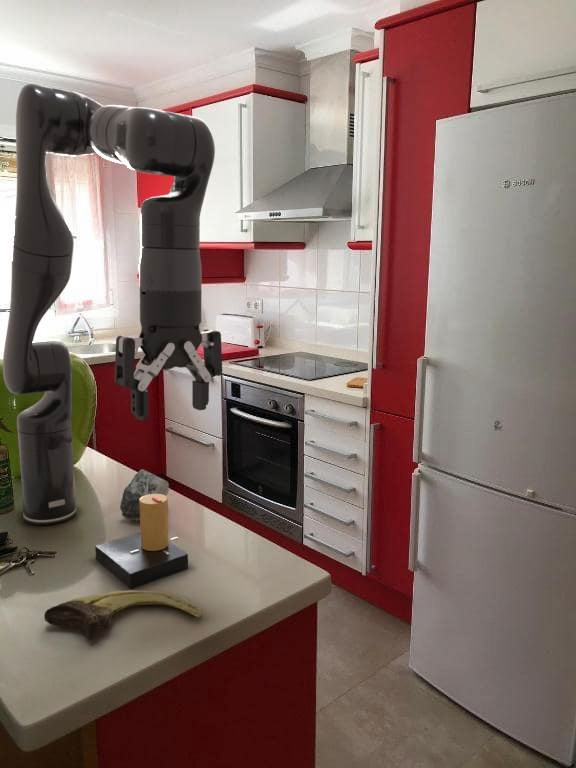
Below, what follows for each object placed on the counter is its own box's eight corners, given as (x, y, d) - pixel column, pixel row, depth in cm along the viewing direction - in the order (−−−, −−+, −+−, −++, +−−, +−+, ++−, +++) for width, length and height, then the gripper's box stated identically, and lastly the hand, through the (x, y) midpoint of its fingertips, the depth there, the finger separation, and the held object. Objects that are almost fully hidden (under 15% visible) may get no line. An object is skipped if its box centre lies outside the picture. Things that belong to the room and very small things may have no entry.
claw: (49, 653, 79) (48, 628, 78) (46, 611, 88) (45, 588, 87) (203, 623, 86) (203, 600, 85) (185, 587, 95) (185, 566, 95)
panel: (95, 559, 103) (95, 544, 102) (159, 539, 110) (159, 525, 110) (130, 589, 94) (130, 573, 93) (197, 565, 101) (197, 549, 101)
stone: (128, 459, 121) (156, 472, 114) (164, 482, 127) (192, 495, 120) (100, 504, 118) (127, 519, 111) (138, 525, 124) (166, 541, 117)
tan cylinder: (136, 544, 103) (134, 496, 101) (159, 536, 106) (158, 489, 104) (149, 553, 100) (147, 504, 98) (173, 545, 102) (172, 497, 101)
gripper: (201, 283, 85) (200, 400, 88) (102, 285, 75) (105, 416, 79) (235, 287, 79) (233, 412, 83) (133, 289, 70) (135, 430, 73)
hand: (171, 413), depth 81 cm, fingers open, 8 cm apart
